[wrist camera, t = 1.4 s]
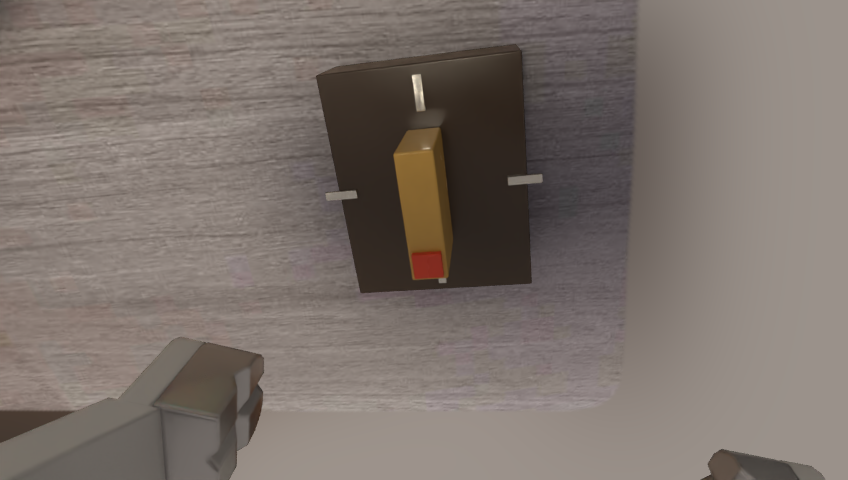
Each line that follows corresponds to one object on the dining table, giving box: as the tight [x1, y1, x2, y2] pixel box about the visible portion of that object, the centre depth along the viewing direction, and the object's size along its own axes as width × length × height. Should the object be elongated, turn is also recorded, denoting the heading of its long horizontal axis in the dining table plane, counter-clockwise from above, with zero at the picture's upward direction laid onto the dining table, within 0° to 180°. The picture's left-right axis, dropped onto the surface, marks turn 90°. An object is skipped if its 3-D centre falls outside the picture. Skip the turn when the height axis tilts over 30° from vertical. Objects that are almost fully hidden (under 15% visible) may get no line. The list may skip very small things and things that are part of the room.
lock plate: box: [316, 44, 543, 293], centre depth 23 cm, size 10×9×3 cm
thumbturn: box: [393, 127, 453, 280], centre depth 20 cm, size 5×1×4 cm, turn 7°
